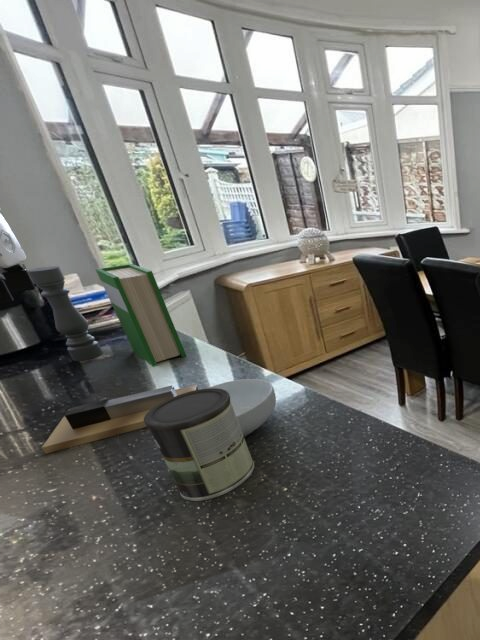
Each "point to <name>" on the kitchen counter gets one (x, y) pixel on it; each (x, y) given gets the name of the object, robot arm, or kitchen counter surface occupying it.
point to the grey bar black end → (117, 407)
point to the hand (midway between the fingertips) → (13, 296)
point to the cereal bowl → (250, 402)
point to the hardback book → (141, 312)
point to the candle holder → (66, 313)
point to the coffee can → (201, 443)
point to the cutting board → (97, 429)
